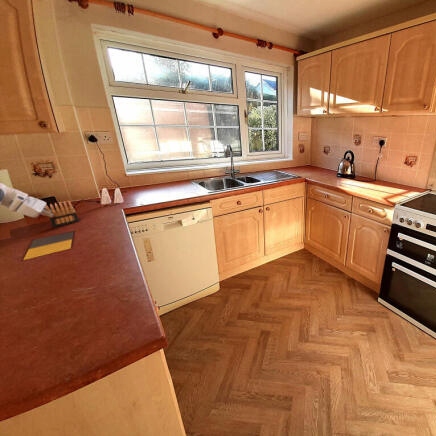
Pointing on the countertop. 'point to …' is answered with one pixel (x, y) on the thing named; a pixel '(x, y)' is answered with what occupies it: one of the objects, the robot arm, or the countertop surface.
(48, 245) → the sorting board
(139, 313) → the countertop surface
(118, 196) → the shaker set
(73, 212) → the ammunition clip
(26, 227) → the countertop surface
